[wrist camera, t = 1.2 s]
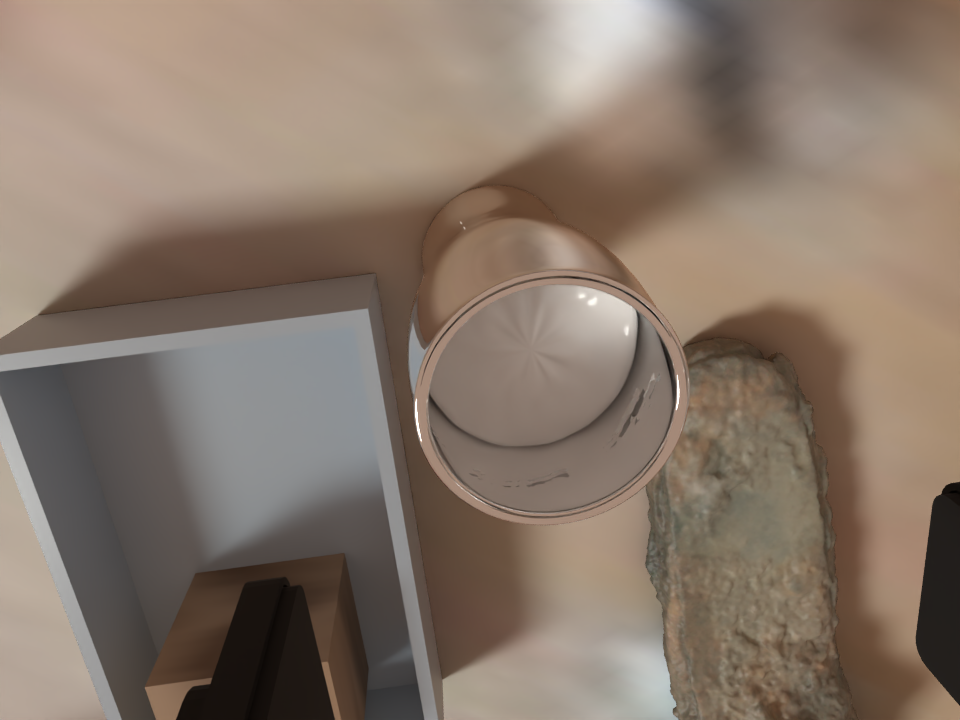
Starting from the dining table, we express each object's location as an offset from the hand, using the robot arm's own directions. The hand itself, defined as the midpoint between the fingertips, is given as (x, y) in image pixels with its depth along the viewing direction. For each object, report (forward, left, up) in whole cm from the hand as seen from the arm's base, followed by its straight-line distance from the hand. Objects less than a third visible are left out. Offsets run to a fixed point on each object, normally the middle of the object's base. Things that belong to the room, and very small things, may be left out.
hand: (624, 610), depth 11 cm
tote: (+12, +11, -22) cm, 27 cm away
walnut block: (+12, +17, -21) cm, 30 cm away
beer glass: (0, 0, -22) cm, 22 cm away
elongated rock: (-11, +22, -23) cm, 34 cm away
